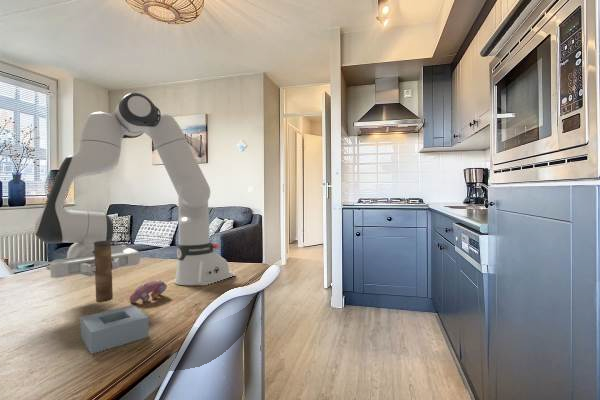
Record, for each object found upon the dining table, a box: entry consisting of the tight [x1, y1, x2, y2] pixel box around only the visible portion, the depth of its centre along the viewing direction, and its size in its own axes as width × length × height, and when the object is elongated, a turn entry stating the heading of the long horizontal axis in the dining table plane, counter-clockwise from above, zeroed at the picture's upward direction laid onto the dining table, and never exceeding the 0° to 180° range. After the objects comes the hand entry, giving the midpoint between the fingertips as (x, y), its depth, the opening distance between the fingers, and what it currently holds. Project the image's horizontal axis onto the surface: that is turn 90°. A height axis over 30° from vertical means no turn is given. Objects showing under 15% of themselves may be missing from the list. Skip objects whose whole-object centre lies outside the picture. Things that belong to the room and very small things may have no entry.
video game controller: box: [129, 280, 168, 304], centre depth 94 cm, size 10×5×7 cm, turn 148°
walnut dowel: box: [94, 240, 114, 303], centre depth 78 cm, size 4×4×15 cm
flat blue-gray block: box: [80, 304, 150, 355], centre depth 69 cm, size 11×11×4 cm
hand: (104, 267), depth 77 cm, fingers closed on walnut dowel, 4 cm apart
